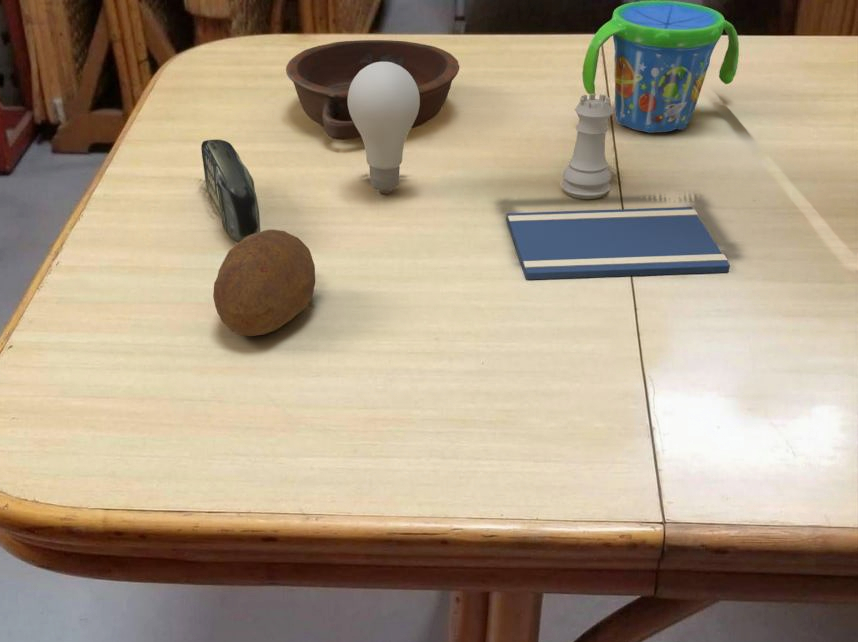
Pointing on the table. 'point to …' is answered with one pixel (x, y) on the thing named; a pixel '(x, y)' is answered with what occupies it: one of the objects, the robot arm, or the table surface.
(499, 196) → the table surface
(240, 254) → the potato
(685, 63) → the snack cup
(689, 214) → the towel
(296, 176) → the table surface
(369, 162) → the lightbulb
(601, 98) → the rook chess piece
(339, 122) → the dish
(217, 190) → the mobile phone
